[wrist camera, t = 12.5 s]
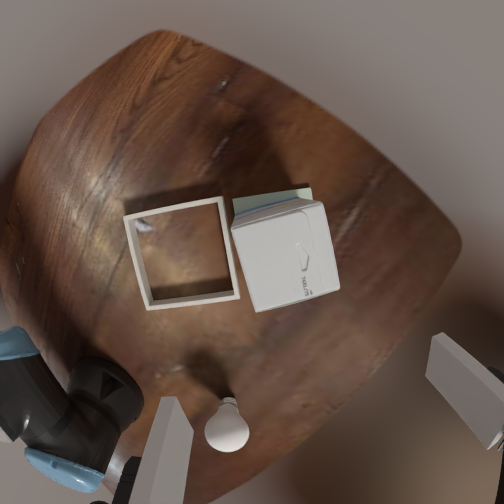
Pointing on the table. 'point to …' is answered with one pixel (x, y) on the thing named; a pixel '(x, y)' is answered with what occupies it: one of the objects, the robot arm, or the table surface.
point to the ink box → (285, 252)
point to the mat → (268, 199)
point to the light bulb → (227, 427)
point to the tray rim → (189, 299)
